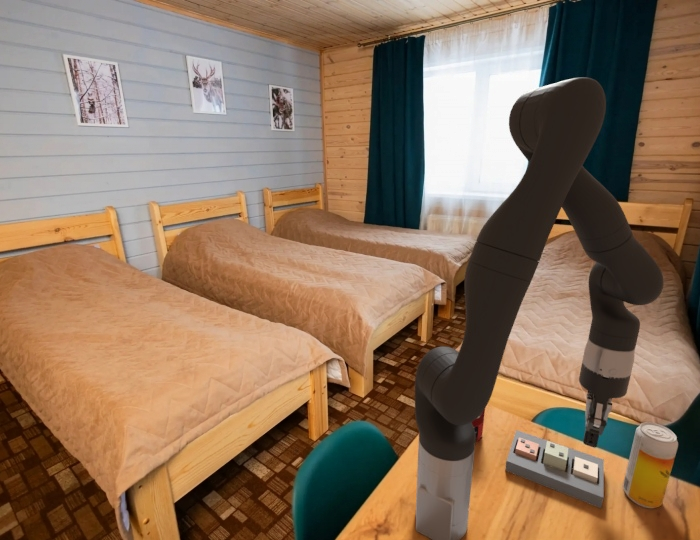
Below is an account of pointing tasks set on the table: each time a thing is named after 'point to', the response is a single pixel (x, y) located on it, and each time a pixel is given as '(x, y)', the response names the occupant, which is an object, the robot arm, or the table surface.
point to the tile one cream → (585, 469)
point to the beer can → (650, 464)
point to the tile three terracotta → (527, 449)
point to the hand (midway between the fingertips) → (589, 443)
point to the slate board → (557, 471)
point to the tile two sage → (555, 456)
